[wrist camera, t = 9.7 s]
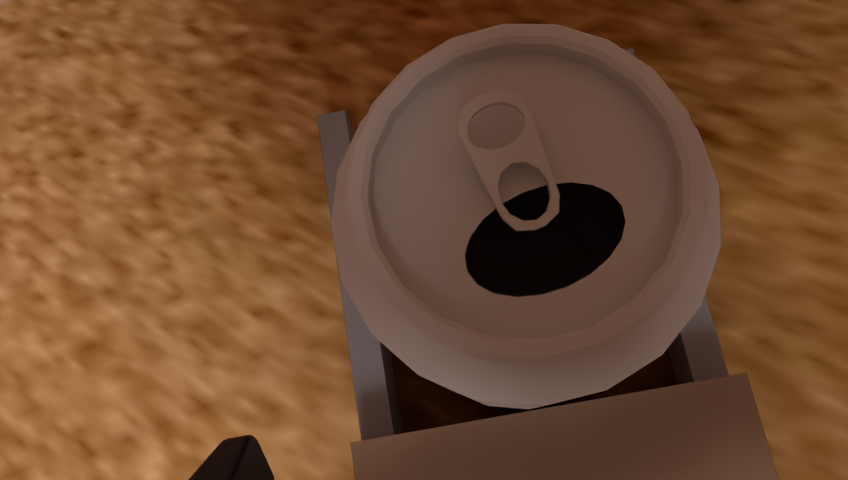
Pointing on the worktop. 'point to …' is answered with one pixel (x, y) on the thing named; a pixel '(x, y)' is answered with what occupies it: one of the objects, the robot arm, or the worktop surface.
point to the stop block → (591, 441)
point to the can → (526, 215)
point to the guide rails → (372, 360)
